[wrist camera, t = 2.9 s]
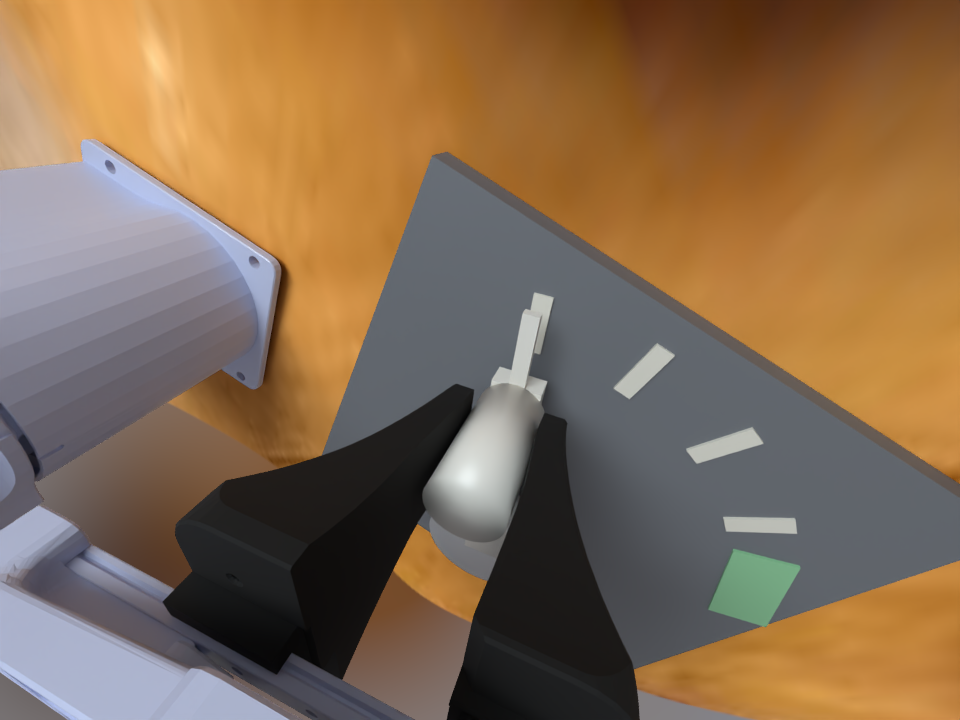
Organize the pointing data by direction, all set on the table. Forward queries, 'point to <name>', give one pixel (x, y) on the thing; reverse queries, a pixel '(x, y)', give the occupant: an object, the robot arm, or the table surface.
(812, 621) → the table surface
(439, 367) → the gauge board
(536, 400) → the tuning lever
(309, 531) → the robot arm
